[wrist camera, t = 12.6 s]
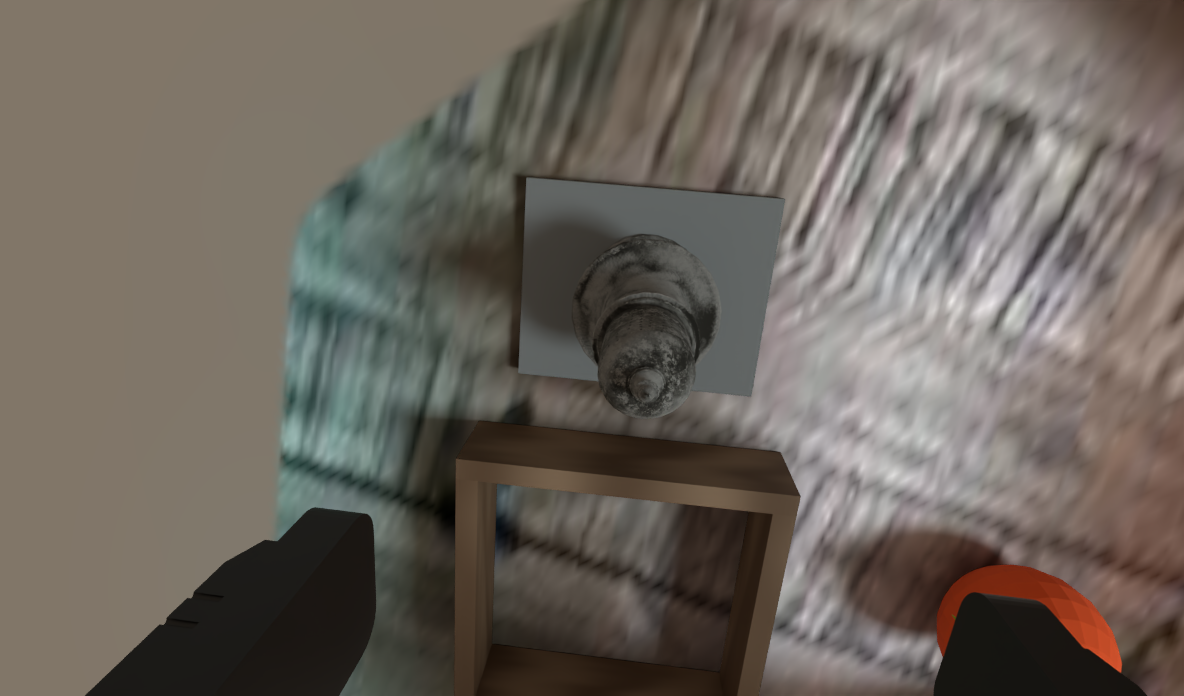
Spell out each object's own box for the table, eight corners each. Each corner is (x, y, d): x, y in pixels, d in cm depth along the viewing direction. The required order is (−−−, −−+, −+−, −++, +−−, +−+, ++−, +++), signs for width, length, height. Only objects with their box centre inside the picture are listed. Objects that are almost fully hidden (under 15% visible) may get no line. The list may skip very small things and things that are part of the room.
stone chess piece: (562, 251, 27) (502, 327, 16) (690, 208, 26) (727, 256, 15) (604, 370, 29) (578, 518, 17) (727, 334, 28) (785, 465, 16)
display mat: (782, 198, 26) (784, 199, 26) (749, 391, 29) (751, 396, 28) (528, 176, 27) (526, 177, 26) (520, 368, 30) (518, 372, 29)
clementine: (867, 599, 32) (927, 719, 25) (954, 501, 30) (1045, 603, 23) (991, 665, 33) (1082, 800, 26) (1086, 574, 31) (1211, 695, 24)
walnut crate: (780, 452, 30) (800, 496, 26) (734, 688, 34) (745, 754, 31) (479, 420, 31) (456, 458, 27) (474, 655, 35) (454, 716, 31)
